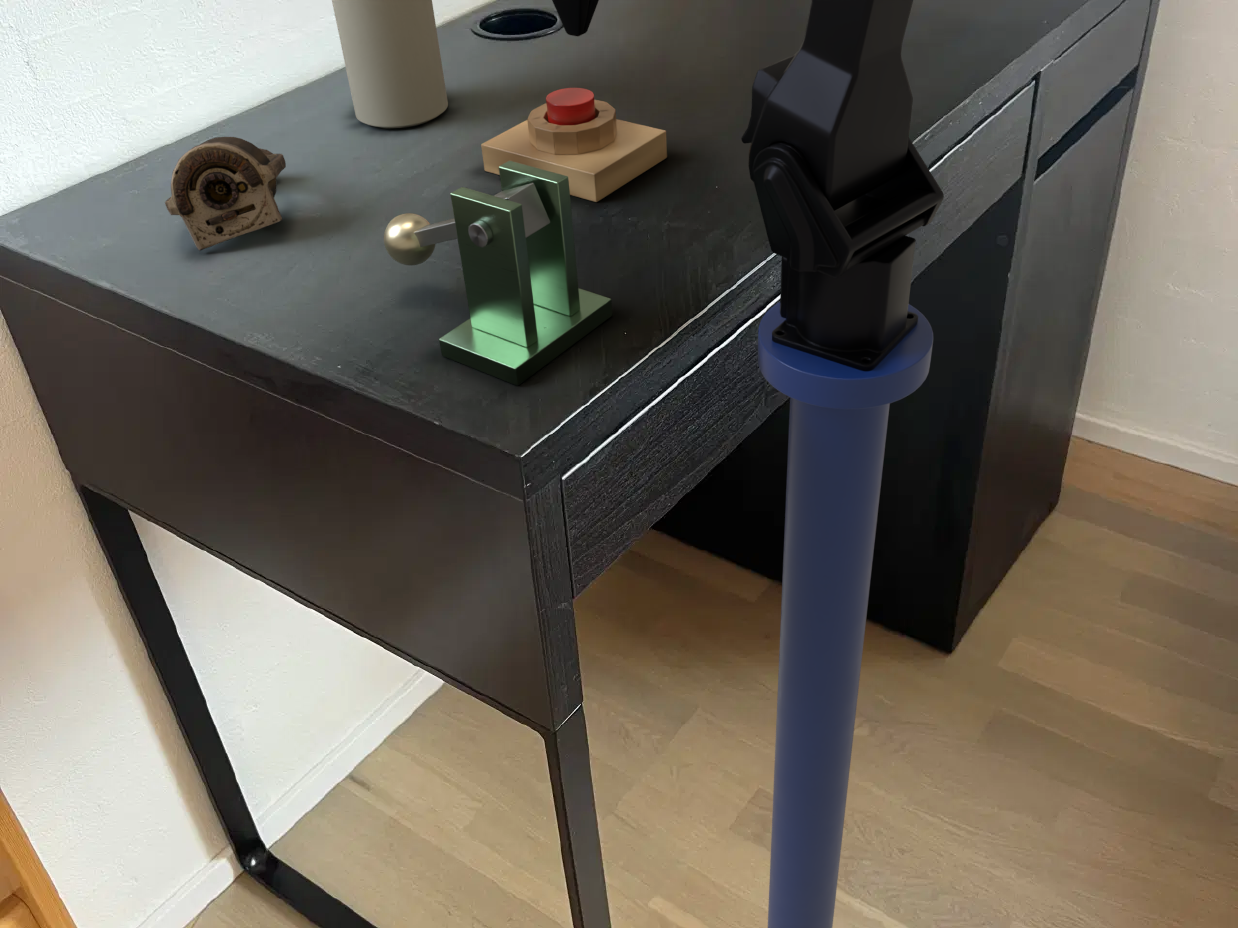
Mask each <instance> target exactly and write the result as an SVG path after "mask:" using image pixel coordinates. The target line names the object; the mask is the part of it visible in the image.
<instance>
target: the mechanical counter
mask: <svg viewBox="0 0 1238 928" xmlns="http://www.w3.org/2000/svg"><path fill="white" fill-rule="evenodd" d="M286 168H287V163H286V159H285V157H284V155H283V154H282V153H274V152H271V151H270V150H268V149H265V148H260V147H258V146H256V145H255V144H253V143H252V142H250V141H247V140H245V139H243V138H240V137H237V136H216V137H212V138H210V139H207V140H206V141H204V142H202V143H199V144H197V145H194V146H193V147H192V148H190V149H189V150H187V151H186V152H185V153H184V154H182V156H180V158H179V159H178V160H177V162H176V165H175V166H174V168H173V171H172V174H171V179H170V180H171V181H170V193H171V196H170V197H168V198H167V199H166V200H165V202H164V203H165V208H166V210H167V211H168V213H169V214H170V216H179V217H180V218H181V219H182V221H183V223H184V225H185V226H186V229H187V231H188V233H189V234H190V236H191V239H192V242H194V246H195V247H196V248H197V250H198V251H203V250H205V249H208V248H210V247H213V246H216V245H219V244H221V243H224V242H226V241H229V240H231V239H234V238H238V237H240V236H243V235H247V234H249V233H252V232H255V231H259V230H261V229H264V228H267V227H269V226H272V225H275V224H276V223H279V222H282V221H283V217H282V214H281V212H280V210H279V205H278V203H277V202H276V199H275V197H276V193H277V187H278V186H277V178H278V177H279V175H280V174H281V172H282V171H283V170H285V169H286Z"/></svg>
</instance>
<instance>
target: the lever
mask: <svg viewBox="0 0 1238 928" xmlns="http://www.w3.org/2000/svg"><path fill="white" fill-rule="evenodd" d="M493 196H495V197H499V198H502V199H506V200H509V201H513V202H516V203H519V204H522V210H523V219H524V227H525V235H526V238H527V237H528V236H530V235H532V234H533V233H535V232H536V231H538V230H539V229H541V228H543V227H544V226H546V225H547V224H549V223H550V220H549V218H548V216H547V213H546V211H545V208H544V206H543V204H542V201H541V199H540V197H539V194H538V192H537V190H536V187H535V185H534V183H531V184H527V185H523V186H519V187H516V188H512V189H508V190H505V191H502V190H501V191H499V192H498V193H496V194H494V195H493ZM454 240H458V238H457V232H456V226H455V220H454V217H453V218H449V219H445V220H441V221H437V222H434V223H430V222H429V221H428V220H427V219H426V218H425V217H423V216H421V215H419V214H417V213H411V212H410V213H409V212H407V213H402V214H399V215H397V216H395V217H394V218H392V219H391V220H390V221H389V223H388V224H387V225H386V227H385V230H384V232H383V244H384V248H385V250H386V251H387V253H388V255H389V256H390V257H391V258H392V259H393V260H394V261H395V262H397V263H399V264H401V265H404V266H418V265H421V264H423V263H425V262H426V261H427V260H428V259H430V257H431V256H432V255H433V253H434V251H435V249H436V245H437V244H440V243H445V242H450V241H454Z"/></svg>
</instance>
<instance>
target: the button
mask: <svg viewBox="0 0 1238 928" xmlns="http://www.w3.org/2000/svg"><path fill="white" fill-rule="evenodd" d="M594 99H595V94H594V92H593V91H592V90H590V89H587V88H583V87H566V88H560V89H557V90H554V91H552V92H550V93H548V94H547V95H546V97H545V103H546V104H547V114H548V122H549V123H552V124H556V125H578V124H583V123H587V122H590V121H592V120H593V119H595V118H596V114H595V100H596V99H595V100H594Z"/></svg>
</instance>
